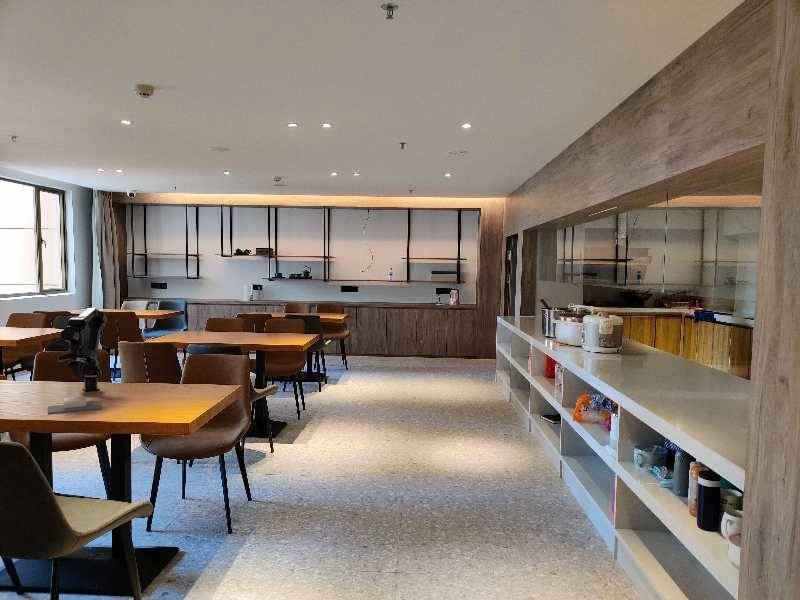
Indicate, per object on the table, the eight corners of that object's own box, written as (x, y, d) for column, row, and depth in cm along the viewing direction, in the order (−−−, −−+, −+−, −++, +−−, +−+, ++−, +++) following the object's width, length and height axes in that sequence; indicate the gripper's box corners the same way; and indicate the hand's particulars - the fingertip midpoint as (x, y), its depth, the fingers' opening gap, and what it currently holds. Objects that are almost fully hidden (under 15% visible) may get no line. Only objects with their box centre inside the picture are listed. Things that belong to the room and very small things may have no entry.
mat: (47, 407, 248) (47, 406, 248) (99, 403, 259) (99, 401, 259) (47, 414, 237) (47, 412, 237) (102, 409, 248) (102, 407, 248)
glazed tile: (63, 398, 253) (64, 402, 244) (84, 396, 257) (85, 400, 249) (63, 404, 253) (64, 408, 244) (84, 402, 257) (85, 406, 249)
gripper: (79, 338, 258) (81, 372, 254) (105, 343, 276) (107, 375, 273) (56, 343, 259) (57, 377, 255) (83, 348, 277) (85, 380, 273)
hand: (78, 377), depth 264 cm, fingers closed
